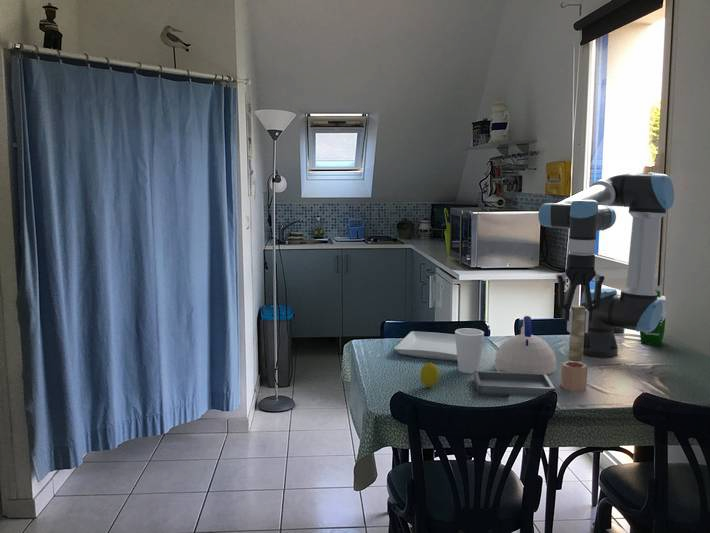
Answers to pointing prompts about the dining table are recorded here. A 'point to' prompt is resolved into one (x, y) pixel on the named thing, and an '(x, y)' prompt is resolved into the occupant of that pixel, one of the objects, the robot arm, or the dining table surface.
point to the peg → (577, 334)
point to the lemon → (429, 374)
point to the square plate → (429, 345)
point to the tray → (511, 383)
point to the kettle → (525, 353)
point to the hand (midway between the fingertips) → (577, 331)
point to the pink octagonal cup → (574, 376)
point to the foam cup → (468, 349)
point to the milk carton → (658, 332)
